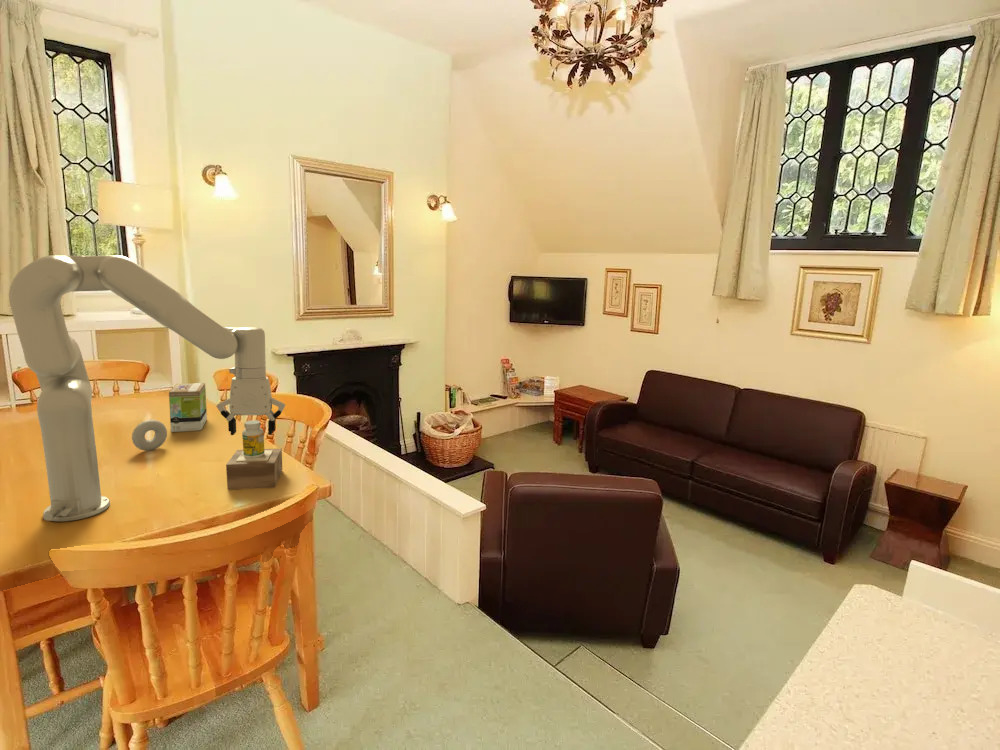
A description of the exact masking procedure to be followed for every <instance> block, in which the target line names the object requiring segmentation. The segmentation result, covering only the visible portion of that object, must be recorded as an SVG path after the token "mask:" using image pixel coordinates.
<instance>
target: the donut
mask: <svg viewBox="0 0 1000 750" xmlns="http://www.w3.org/2000/svg"><path fill="white" fill-rule="evenodd" d="M132 431H133V432H132V433H131V440H132V443H133V445H134V446H135V447H136V448H137V449H139V450H141V451H146V452H147V451H148V452H149V451H153V450H157V449H159V448H160V447H161V446H162V445H163V444H164V443H165V442H166V439H167V437H168V429H167V427H166V425H165V424H164V423H163V422H162V421H159V420H157V419H147V420H144V421H142V422H140V423H139V424H137V426H135V428H134V429H133V430H132ZM149 431H152V432H154V437H152V438H151V439H146V436H145V435H146V434H147V432H149Z"/></svg>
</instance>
